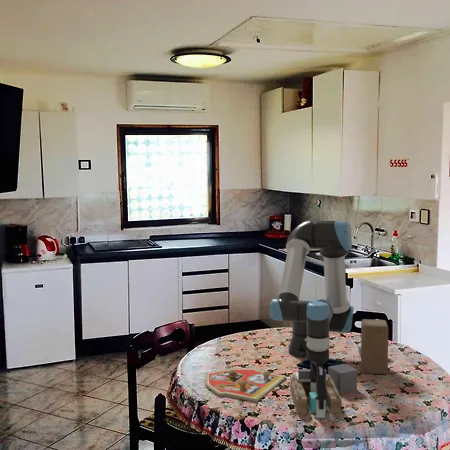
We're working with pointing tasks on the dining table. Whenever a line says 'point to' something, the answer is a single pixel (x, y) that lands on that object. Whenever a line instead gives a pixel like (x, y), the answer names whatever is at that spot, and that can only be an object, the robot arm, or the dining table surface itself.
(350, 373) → the stand
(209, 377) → the knob puzzle
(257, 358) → the dining table surface
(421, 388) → the dining table surface
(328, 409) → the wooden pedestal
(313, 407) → the block
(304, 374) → the lid
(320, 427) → the dining table surface
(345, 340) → the dining table surface
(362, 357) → the wooden block
